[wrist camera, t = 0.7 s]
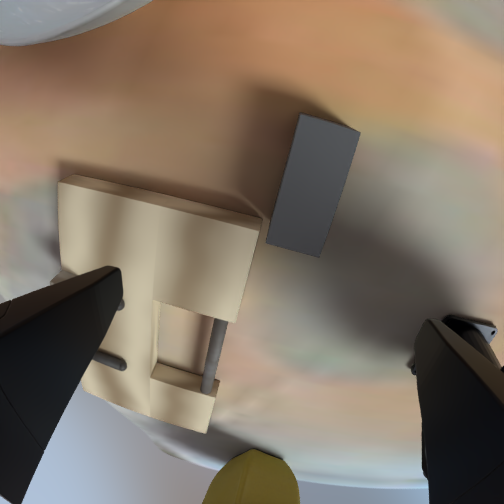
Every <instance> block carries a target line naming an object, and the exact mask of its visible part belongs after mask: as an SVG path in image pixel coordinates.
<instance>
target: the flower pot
mask: <svg viewBox="0 0 504 504" xmlns="http://www.w3.org/2000/svg"><path fill="white" fill-rule="evenodd" d="M202 504H300V497H299V488H298V484H297V481H296V478H295V476H294V474H293V472H292V470H291V469H290V467H289V466H288V465H287V463H286V462H285V461H283V460H281V459H278V458H275V457H273V456H270V455H268V454H265V453H263V452H260V451H258V450H255V449H251V450H249V451H247V452H245V453H243V454H241V455H239V456H237V457H235V458H233V459H231V460H230V461H229V462H228V463H227V464H226V465H225V466H224V467H223V468H222V469H221V470H220V471H219V472H218V473H217V475H216V476H215V477H214V479H213V480H212V482H211V484H210V486H209V489H208V491H207V493H206V495H205V498H204V500H203V502H202Z"/></svg>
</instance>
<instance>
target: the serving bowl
mask: <svg viewBox="0 0 504 504" xmlns="http://www.w3.org/2000/svg"><path fill="white" fill-rule="evenodd" d="M151 1H153V0H0V45H5V46H27V45H33V44H38V43H44V42H50V41H55V40H60V39H64V38H68V37H71V36H75V35H78V34H81V33H84V32H87V31H90V30H93V29H95V28H98V27H101V26H103V25H106V24H108V23H110V22H113V21H115V20H117V19H119V18H121V17H124V16H126V15H128V14H130V13H132V12H134V11H135V10H137V9H139V8H141V7H143V6H145V5H146V4H148V3H150V2H151Z"/></svg>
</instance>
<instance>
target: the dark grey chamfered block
mask: <svg viewBox="0 0 504 504" xmlns="http://www.w3.org/2000/svg"><path fill="white" fill-rule="evenodd" d="M359 137H360V132H358V131H356V130H354V129H352V128H350V127H348V126H345V125H342V124H339V123H335V122H332V121H329V120H326V119H322V118H319V117H316V116H312V115H309V114H305V113H301V112H300V113H299V117H298V121H297V124H296V128H295V132H294V136H293V139H292V143H291V147H290V150H289V154H288V158H287V162H286V165H285V169H284V173H283V176H282V180H281V184H280V187H279V191H278V195H277V198H276V202H275V206H274V209H273V213H272V217H271V220H270V225H269V230H268V234H267V239H266V243H267V244H270V245H274V246H278V247H282V248H285V249H289V250H293V251H296V252H300V253H304V254H308V255H311V256H315V257H319V256H320V254H321V251H322V248H323V245H324V243H325V240H326V237H327V234H328V231H329V229H330V226H331V223H332V220H333V217H334V214H335V211H336V208H337V205H338V202H339V200H340V197H341V194H342V191H343V187H344V184H345V181H346V178H347V175H348V172H349V169H350V166H351V163H352V159H353V156H354V153H355V150H356V147H357V143H358V140H359Z"/></svg>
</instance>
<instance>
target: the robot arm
mask: <svg viewBox="0 0 504 504" xmlns="http://www.w3.org/2000/svg"><path fill="white" fill-rule="evenodd" d="M122 298H123V282H122V273H121V270H120V268H118V267H114V266H109V265H107V266H104V267H101V268H98V269H95V270H92V271H89V272H86V273H84V274H81V275H78V276H75V277H72V278H69V279H67V280H64V281H61V282H58V283H55V284H53V285H50V286H47V287H44V288H42V289H39V290H36V291H33V292H31V293H28V294H25V295H23V296H20V297H17V298H15V299H12V301H11V300H9V301H6V302H4V303H1V304H0V496H1V497H3V498H4V499H6V500H7V501H9V502H10V503H11V504H21V503H22V501H23V498H24V496H25V494H26V491H27V489H28V487H29V484H30V482H31V480H32V477H33V475H34V473H35V471H36V469H37V466H38V464H39V462H40V460H41V458H42V455H43V453H44V450H45V449H46V447H47V444H48V442H49V440H50V438H51V436H52V434H53V432H54V430H55V428H56V426H57V424H58V422H59V420H60V418H61V416H62V414H63V412H64V410H65V408H66V407H67V405H68V403H69V401H70V399H71V397H72V395H73V393H74V391H75V390H76V388H77V386H78V384H79V382H80V380H81V378H82V377H83V375H84V373H85V371H86V369H87V368H88V366H89V364H90V362H91V361H92V359H93V357H94V355H95V354H96V352H97V350H98V348H99V347H100V345H101V343H102V341H103V339H104V338H105V336H106V333H107V331H108V329H109V327H110V325H111V322H112V320H113V318H114V316H115V314H116V311H117V309H118V307H119V305H120V303H121V301H122ZM449 321H450V322H449ZM448 322H449V323H448ZM497 331H498V330H497V328H496V326H494V325H490V324H486V323H481V322H477V321H473V320H469V319H465V318H461V317H456V316H452V315H449V316H447V317H445V318H444V320H443V321H442V322H441V321H439V320H435V319H427V320H425V322H424V323H423V325H422V328H421V330H420V332H419V334H418V336H417V338H416V340H415V343H414V353H415V363H414V365H413V366H412V368H411V372H412V374H413V375H416V377H417V390H418V397H419V403H420V410H421V417H422V470H423V474H424V476H425V477H426V478H427V480H428V485H429V504H504V366H503V367H501V365H500V363H499V361H498V359H497V357H496V356H495V354H494V352H493V350H492V348H491V347H490V345H489V344H490V342H491V341H492V339H493V338H494V337H495V335H496V334H497Z"/></svg>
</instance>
